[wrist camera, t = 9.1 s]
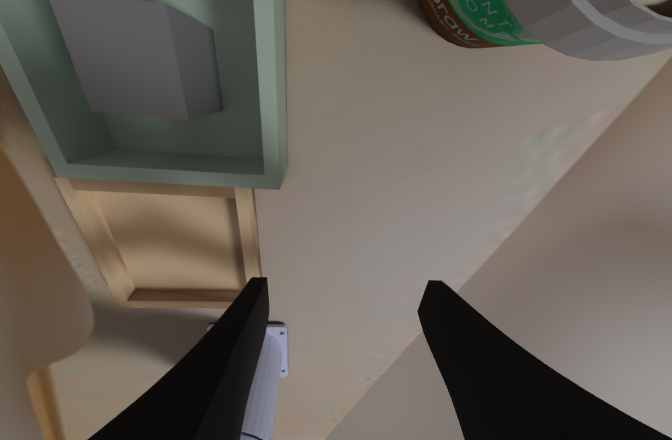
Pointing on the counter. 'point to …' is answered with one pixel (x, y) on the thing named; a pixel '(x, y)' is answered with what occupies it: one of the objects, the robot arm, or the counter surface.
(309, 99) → the counter surface
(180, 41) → the stone block
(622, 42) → the food container
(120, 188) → the oak tray
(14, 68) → the green bin
